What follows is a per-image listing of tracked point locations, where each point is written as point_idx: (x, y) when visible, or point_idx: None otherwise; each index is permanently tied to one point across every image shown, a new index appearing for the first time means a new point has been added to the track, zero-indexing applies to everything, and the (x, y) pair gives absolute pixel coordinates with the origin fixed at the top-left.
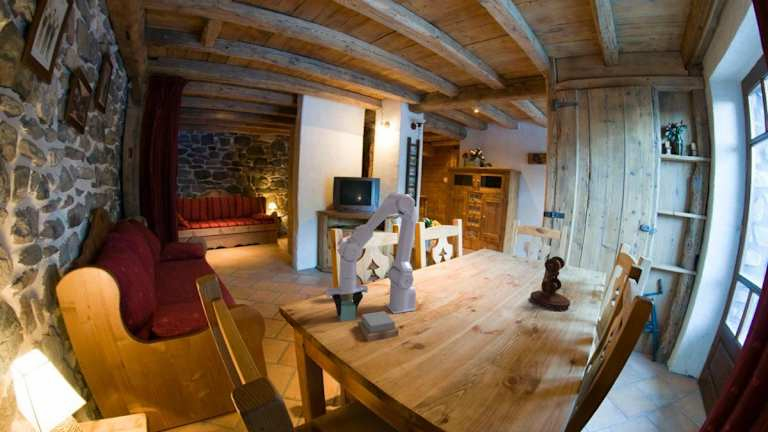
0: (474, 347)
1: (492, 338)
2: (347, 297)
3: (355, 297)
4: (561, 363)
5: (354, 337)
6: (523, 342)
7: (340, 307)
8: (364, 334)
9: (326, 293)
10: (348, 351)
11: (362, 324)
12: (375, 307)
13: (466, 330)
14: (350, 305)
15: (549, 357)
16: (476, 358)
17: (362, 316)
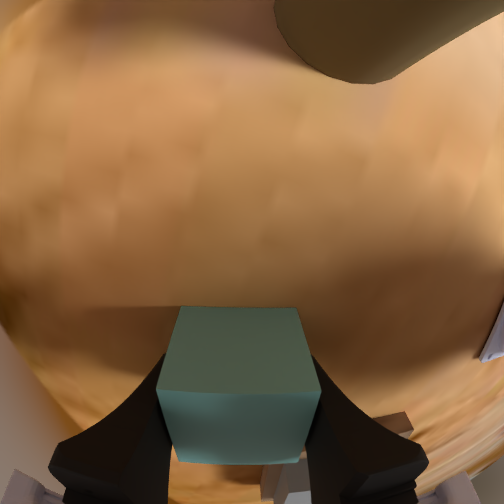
0: (446, 472)
1: (490, 446)
2: (370, 67)
3: (319, 499)
4: (474, 474)
5: (220, 469)
6: (500, 446)
7: (170, 448)
8: (262, 471)
9: (17, 494)
10: (183, 491)
11: (274, 471)
12: (475, 268)
13: (495, 430)
14: (261, 453)
15: (480, 468)
16: (417, 491)
17: (287, 485)
